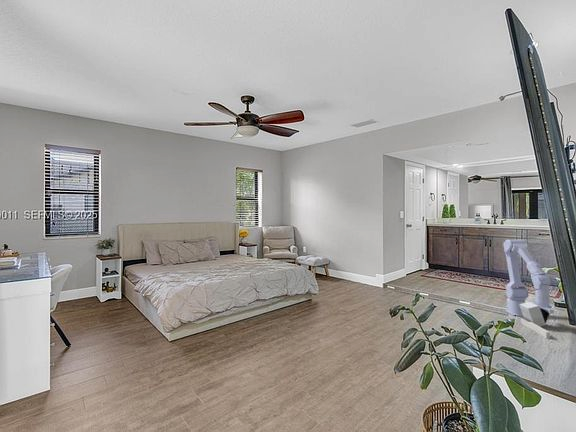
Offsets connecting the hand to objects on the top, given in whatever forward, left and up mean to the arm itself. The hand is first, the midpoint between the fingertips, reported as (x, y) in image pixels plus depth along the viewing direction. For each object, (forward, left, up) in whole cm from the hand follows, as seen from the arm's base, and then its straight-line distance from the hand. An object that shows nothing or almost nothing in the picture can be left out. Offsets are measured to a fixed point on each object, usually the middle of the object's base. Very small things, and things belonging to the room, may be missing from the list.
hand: (542, 322), depth 160 cm
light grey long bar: (+7, -8, -1) cm, 11 cm away
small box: (0, -4, -1) cm, 4 cm away
